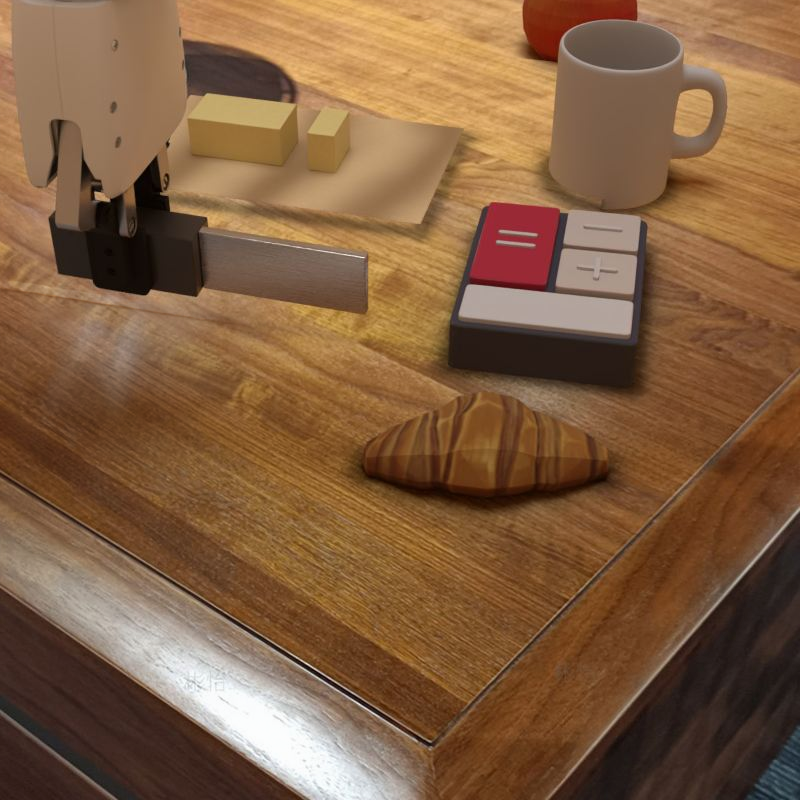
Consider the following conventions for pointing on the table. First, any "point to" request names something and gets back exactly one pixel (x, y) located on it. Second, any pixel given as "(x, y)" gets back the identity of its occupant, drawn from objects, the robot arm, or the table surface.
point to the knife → (232, 262)
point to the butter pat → (328, 140)
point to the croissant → (486, 450)
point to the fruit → (567, 20)
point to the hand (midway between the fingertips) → (134, 270)
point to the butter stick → (243, 129)
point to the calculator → (551, 295)
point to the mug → (625, 111)
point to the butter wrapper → (333, 192)
